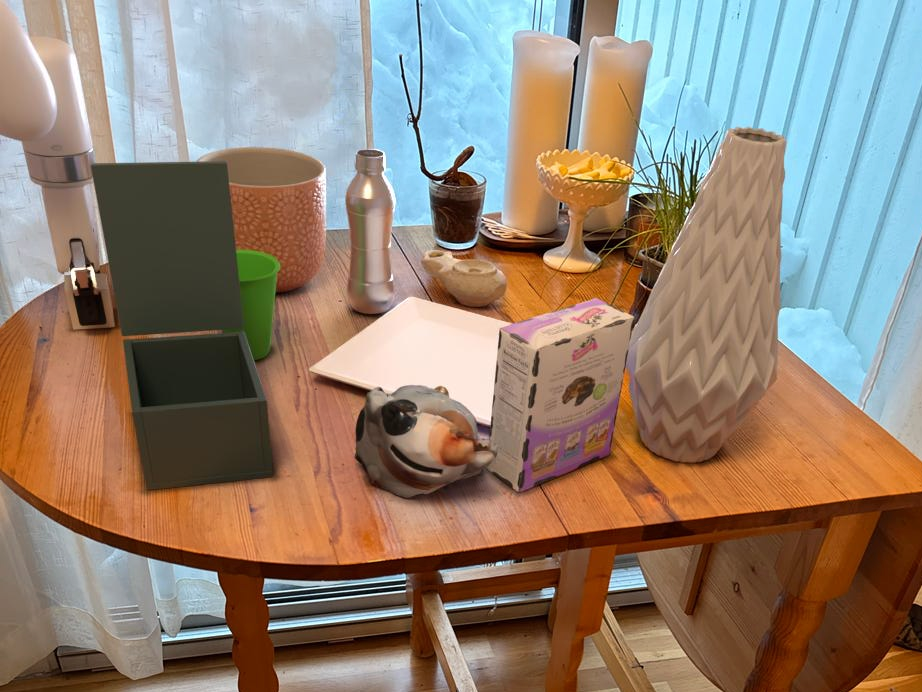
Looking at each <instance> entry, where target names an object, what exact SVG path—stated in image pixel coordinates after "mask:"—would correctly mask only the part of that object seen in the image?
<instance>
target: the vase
mask: <svg viewBox="0 0 922 692" xmlns="http://www.w3.org/2000/svg"><path fill="white" fill-rule="evenodd" d="M786 148H787V139H786V138H785V137H784V135H783V134H777V133H776V131H775V130H774V131H767V130H765V129H764V128H762V127H761V128H756V129H755V128H753V127H750V126H746V127H744V128H743V127H739V126H735V127H734V128H728V129H727V131H726V134H725V137H724V139H723V140H722V142H720V143H719V147H718V150H717V152H716V153H715V154H716V155H715V156H714V158H713V161H712V162H711V164H710V167H709V170H708V171H707V173H706V174H705V176H704V177H703V180H702V182H701V185H700V187H699V190H698V194H697V196H696V199H695V202H694V204H693V206H692V207H691V209H690V210H689V213H688V215H687V218H686V219H685V222H684V224H683V226H682V227H681V230H680V232H679V234H678V236H677V238H676V240H675V241H674V244H673V245H672V247H671V249H670V252H669V254H668V256H667V258H666V261H665V262H664V265H663V267H662V269H661V270H660V273H659V275H658V277H657V279H656V282H655V284H654V285H653V288H652V289H651V291H650V294H649V296H648V299H647V301H646V303H645V306H644V308H643V310H642V312H641V315H640V317H639V319H638V321H637V323H636V324H635V325H634V326H633V327H634V328H632V333H631V339H630V344H629V351H628V356H627V361H626V367H625V369H626V371H627V374H628V376H629V382H628V393H629V397H630V400H631V405H632V409H633V415H634V418H635V423H636V425H637V426H638V431H639V436H640V439H641V442H642V443H643V445H644V447H645V448H648V450H649V451H650V452H652V453H654V454H655V455H656V456H658V457H662V458H664V459H668V460H670V461H672V462H679V463H682V464H683V463H692V464H695V463H701V462H703V461H707V460H710V459H711V458H713V457H715V455H716V454H717V453H718V452H719V450H721V448H722V447H723V445H724V443H725V442H727V441H729V440H732V439H733V438H734V437H736V434H737V433H738V432H739V430H740V428H741V427H742V426H743V424H744V423H745V422H746V420H747V419H748V418H749V416H751V414H752V413H753V411H755V409H756V406H757V404H758V403H759V402H760V401H761V400H762V399H763V398H764V397H765V395H766V393H767V392H768V390H770V388H771V387H773V385H775V383H776V382H777V380H778V373H779V372H778V371H779V370H778V369H779V322H778V321H779V320H778V318H779V315H780V311H781V299H782V298H781V263H782V242H781V238H782V237H781V236H782V233H781V225H782V224H781V223H782V218H783V215H782V214H783V195H784V193H783V192H784V191H783V189H784V187H783V186H784V183H785V179H786V170H785V169H786V168H785V155H786Z"/></svg>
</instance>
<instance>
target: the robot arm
mask: <svg viewBox="0 0 922 692" xmlns="http://www.w3.org/2000/svg"><path fill="white" fill-rule="evenodd" d="M0 136H2V137H5V138H8V139H11V140H14V141H17V142H18V141H19V142H21V146H22V150H23V155H24V158H25V162H26V167H27V171H28V175H29V180H30V181H31V182H32V183H34V184H35V185H38V186H40V187H41V194H42V199H43V205H44V211H45V216H46V221H47V226H48V229H49V234H50V239H51V244H52V248H53V255H54V258H55V263H56V268H57V271H58V273H59V274H61V275H64V274H65V273H69V272H70V275H71V278H72V284H73V289H74V293H73V297H74V302H75V306H76V311H77V315H78V320H79V324H80V325H81V326H91V325H105V324H106V323H107V320H106V315H105V310H104V305H103V300H102V295H101V291H98V286H97V280H96V275H95V274H101V270H100V269H101V262H100V245H99V244H100V243H99V232H98V225H97V219H96V213H95V207H94V201H93V196H92V191H91V185H90V184H94V181H93V175H92V170H91V163H97V160H96V155H95V154H96V153H95V149H94V144H93V139H92V133H91V128H90V124H89V117H88V111H87V106H86V101H85V96H84V89H83V85H82V80H81V74H80V69H79V64H78V59H77V55H76V52H75V51H74V49H73V48H72V46H71V45H70V44H69V43H67V42H66V41H64V40H62V39H59V38H57V37H51V36H41V35H37V36H36V35H34V36H33V35H30V36H29V35H28V33H27V31H26V30H25V28H24V26H23V25H22V22H20V20H19V18H18V17H17V15H16V14H15V13H14V11H13V10H12V8H11V7H10V6H9V4H8V3H7V2H6V1H5V0H0ZM88 274H91V278H90V277H88ZM92 285H93V286H92Z"/></svg>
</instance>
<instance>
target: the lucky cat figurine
mask: <svg viewBox="0 0 922 692" xmlns="http://www.w3.org/2000/svg"><path fill="white" fill-rule="evenodd" d="M354 430H355V452H354V459H355V460H356V461H357V463H358V464H360V465H361V466H362V468H363V469H364V471H365V474H366V475H367V478H368V482H369V483H371V484H372V485H375V486H377V487H379V488H382V489H384V490H385V491H388V492H390V493H392V494H394V495H397V496H399V497H403V498H405V499H409V498H412V497H414V496H417V495H421V494H424V495H429V494H431V493H433V492H435V491H437V490H439V489H441V488H442V487H444V486H447V485H449V484H452V483H455V482H457V481H461V480H464V479H468V478H471V477H474V476H476V475H479V474H481V473H482V470H483V469H485V468H486V466H488V465H490V464H491V462H492V461H493V460H494V459H495V458H496V456H497V450H498V445H497V444H496V446H495V445H494V443H493V442H492V441H491V440H490V439H489V438H484V437H481V438H480V437H479V435H478V423H477V421H476V418H475V417H474V415H473V414H472V413H471V412H470V411H469V410H468V409H467V407H465V406H464V405H463V404H461V403H460V402H458V401H456V400H453V399H451V398H449V393H448V390H447V389H446V388H445V387H443V386H438V387H436V388H435V389H433V388H428V387H427V386H422V385H417V386H416V385H407V386H402V387H400V388H398V389H397V390H396V391H395V392H393V393H392V394H390V393H385V392H384V391H383V389H382V388H381V387H376V388H374V389H373V390H372V391H369V392H367V394H366V396H365V403H364V405H363V407H362V408H361V409H360V410H359V414H358V417H357V419H356V423H355V429H354Z"/></svg>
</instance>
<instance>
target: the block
mask: <svg viewBox="0 0 922 692" xmlns="http://www.w3.org/2000/svg"><path fill="white" fill-rule="evenodd" d="M63 275H64V274H63ZM95 275H96V280H97V286H98V291H101V295H102V300H103V305H104V310H105V315H106V320H107V323H106V324H105V325H91V326H81V325H80V324H79V320H78V315H77V311H76V306H75V302H74V297H73V293H74V289H73V284H72V278H71V274H65V275H64V276H63V282H64V294H65V299H66V303H67V308H68V313H69V317H70V321H71V326H72V330H73V331H74V330H75V331H76V330H77V331H78V330H90V329H93V330H94V329H107V328H115V327H116V324H115V323H116V322H115V315H114V308H113V302H112V298H111V292H110V287H109V283H108V282H109V281H108V276H107V273H101V272H100V274H95ZM88 277H90V278H91V274H88ZM92 286H93V285H92Z"/></svg>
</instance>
